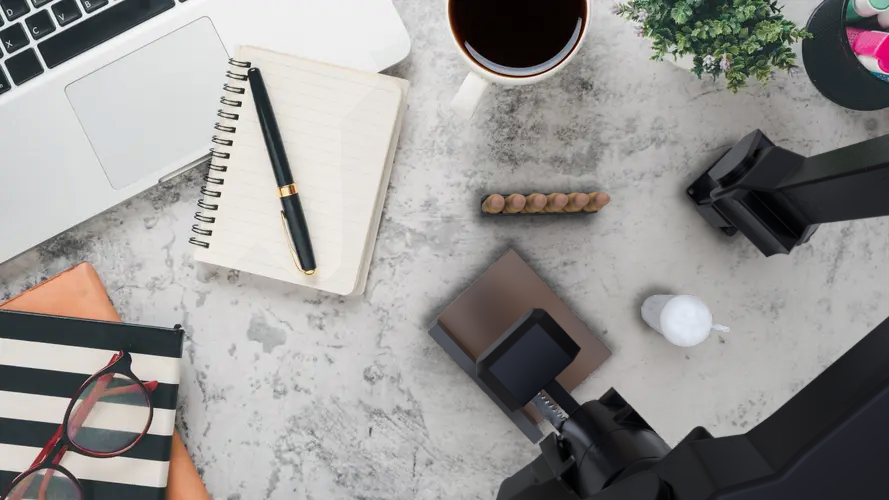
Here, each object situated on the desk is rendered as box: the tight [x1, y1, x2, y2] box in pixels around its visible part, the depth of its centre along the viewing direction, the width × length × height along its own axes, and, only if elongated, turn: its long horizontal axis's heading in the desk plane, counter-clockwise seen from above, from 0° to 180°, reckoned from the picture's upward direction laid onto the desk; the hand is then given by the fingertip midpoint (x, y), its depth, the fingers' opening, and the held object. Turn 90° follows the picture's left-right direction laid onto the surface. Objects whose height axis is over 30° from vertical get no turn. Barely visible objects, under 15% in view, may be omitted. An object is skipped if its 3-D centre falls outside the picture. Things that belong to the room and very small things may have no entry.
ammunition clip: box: [480, 191, 611, 218], centre depth 59 cm, size 11×2×12 cm, turn 91°
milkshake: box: [640, 293, 731, 348], centre depth 60 cm, size 5×5×10 cm
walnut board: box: [427, 247, 613, 445], centre depth 62 cm, size 11×14×6 cm
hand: (578, 404), depth 52 cm, fingers open, 9 cm apart
